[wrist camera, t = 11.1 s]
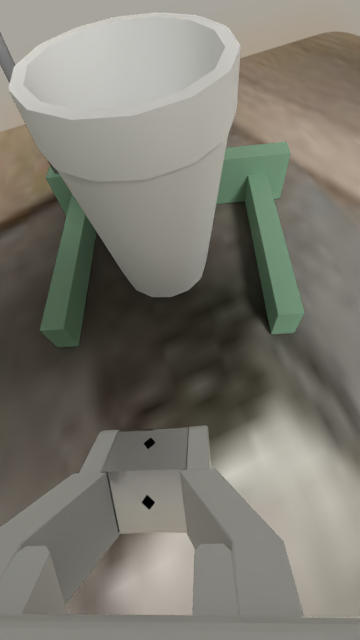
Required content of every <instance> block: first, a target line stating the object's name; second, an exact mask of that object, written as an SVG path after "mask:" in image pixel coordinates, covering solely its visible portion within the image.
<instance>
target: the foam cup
mask: <svg viewBox="0 0 360 640" xmlns="http://www.w3.org/2000/svg"><path fill="white" fill-rule="evenodd" d="M240 50H241V45H240V44H239V42H238V41H237V39H236V38H235V36H234V35H233V34H232V32H231V31H230V29H229V28H228V26H225V25H223V24H220V23H217V22H215V21H212V20H209V19H207V18H204V17H201V16H199V15H190V14H177V13H164V12H155V13H145V14H136V15H126V16H117V17H112V18H109V19H105V20H101V21H98V22H94V23H90V24H87V25H83V26H79V27H76V28H73V29H71V30H69V31H67V32H65V33H62V34H60V35H58V36H56V37H54V38H52V39H50V40H48V41H46V42H44V43H41V44H39V45H38V46H37V47H36V48H34V49H33V50H32V51H31V52H30V53H29V54H28V55H27V56H25V57H24V58H23V59H22V60H21V61H20V62H19V63H17V64H16V65H15V66H14V68H13V72H12V76H11V80H10V84H9V88H8V90H9V92H10V94H11V96H12V98H13V100H14V102H15V104H16V106H17V108H18V110H19V112H20V114H21V116H22V118H23V120H24V122H25V124H26V126H27V128H28V130H29V132H30V134H31V136H32V138H33V140H34V142H35V144H36V146H37V148H38V149H39V150H40V152H41V153H42V154H43V155H44V156H45V157H46V159H47V160H48V161H49V162H50V163H51V164H52V166H53V167H54V168H55V169H56V170H57V171H58V173H59V174H60V176H61V177H62V179H63V180H64V182H65V183H66V185H67V187H68V188H69V190H70V191H71V193H72V194H73V196H74V197H75V199H76V201H77V202H78V204H79V205H80V207H81V208H82V210H83V211H84V213H85V215H86V216H87V218H88V219H89V221H90V222H91V224H92V225H93V227H94V229H95V230H96V232H97V233H98V235H99V236H100V238H101V239H102V241H103V242H104V244H105V246H106V247H107V249H108V250H109V252H110V253H111V255H112V256H113V258H114V260H115V261H116V263H117V264H118V266H119V267H120V269H121V270H122V272H123V274H124V275H125V276H126V277H127V279H128V281H129V282H130V283H131V284H132V285H133V287H134V288H135V289H136V290H137V291H139V292H141V293H144V294H146V295H148V296H151V297H173V296H175V295H178V294H180V293H183V292H185V291H188V290H190V289H191V288H192V287H193V286H194V285H195V284H196V283H197V282H198V281H199V280H200V279H201V277H202V274H203V271H204V268H205V264H206V259H207V255H208V249H209V243H210V237H211V231H212V225H213V220H214V214H215V208H216V202H217V196H218V191H219V185H220V179H221V173H222V167H223V161H224V156H225V150H226V144H227V138H228V134H229V131H230V128H231V125H232V122H233V119H234V117H235V114H236V111H237V96H238V81H239V66H240Z"/></svg>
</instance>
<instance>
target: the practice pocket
mask: <svg viewBox="0 0 360 640" xmlns="http://www.w3.org/2000/svg"><path fill="white" fill-rule="evenodd" d="M0 65H1V67H2V69H3V71H4V73H5V75H6V77H7V79H8V81H9V83H10V80H11V76H12V72H13V68H14V66H15V63H14V61H13V59H12V57H11V55H10V52H9V50H8V48H7V46H6V44H5V42H4V40H3V37H2V35H1V33H0ZM289 157H290V151H289V148H288V145H287V142H280V143H270V144H260V145H251V146H241V147H231V148H226V150H225V156H224V161H223V167H222V173H221V179H220V185H219V191H218V196H217V202H216V204H222V203H233V202H244V201H245V205H246V210H247V215H248V220H249V225H250V230H251V235H252V240H253V245H254V250H255V255H256V260H257V266H258V271H259V276H260V281H261V286H262V291H263V296H264V301H265V306H266V311H267V316H268V321H269V327H270V332H271V334H282V333H294V332H295V330H296V329H297V327H298V325H299V323H300V321H301V319H302V317H303V315H304V309H303V306H302V302H301V298H300V294H299V291H298V287H297V283H296V280H295V276H294V272H293V268H292V265H291V261H290V257H289V254H288V250H287V246H286V242H285V239H284V235H283V231H282V228H281V224H280V220H279V216H278V213H277V209H276V205H275V202H274V199H277V198H280V195H281V191H282V187H283V183H284V178H285V174H286V170H287V166H288V161H289ZM48 162H49V161H48ZM49 164H50V167H49V170H48V173H47V176H46V179H47V181H48V183H49V185H50V187H51V188H52V190H53V192H54V194H55V196H56V198H57V200H58V202H59V204H60V205H61V207H62V209H63V211H64V213H65V215H66V220H65V224H64V229H63V233H62V237H61V242H60V246H59V250H58V254H57V259H56V263H55V267H54V272H53V276H52V280H51V284H50V289H49V293H48V297H47V301H46V306H45V310H44V314H43V319H42V323H41V327H40V332H41V333H43V334H44V335H45V336H46V337H47V338H48V339H49V340H50V341H51V342H52V343H53V344H54V345H55V346H57V347H73V346H79V341H80V335H81V329H82V322H83V316H84V309H85V303H86V297H87V290H88V284H89V277H90V271H91V265H92V258H93V252H94V246H95V239H96V233H97V232H96V230H95V229H94V227H93V225H92V224H91V222H90V221H89V219H88V218H87V216H86V215H85V213H84V211H83V210H82V208H81V207H80V205H79V204H78V202H77V201H76V199H75V197H74V196H73V194H72V193H71V191H70V190H69V188H68V187H67V185H66V183H65V182H64V180H63V179H62V177H61V176H60V174H59V173H58V171H57V170H56V169H55V168H54V167H53V166H52V164H51V163H50V162H49Z"/></svg>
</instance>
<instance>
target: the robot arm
mask: <svg viewBox="0 0 360 640" xmlns="http://www.w3.org/2000/svg"><path fill="white" fill-rule="evenodd" d="M144 532H179V533H187V535H188V537H189V539H190V540H191V542H192V544H193V546H194V548H195V553H194V586H193V615H88V614H67V611H66V607H65V605H66V603H67V602H68V601H69V600H70V598H71V597H72V596H73V594H74V593H75V592H76V591H77V589H78V588H79V587H80V585H81V584H82V583H83V582H84V580H85V579H86V578H87V576H88V575H89V574H90V573H91V571H92V570H93V569H94V567H95V566H96V565H97V564H98V562H99V561H100V560H101V558H102V557H103V556H104V555H105V553H106V552H107V551H108V549H109V548H110V547H111V546H112V544H113V543H114V542H115V540H116V539H117V538H118V537H119V534H124V533H144ZM0 640H360V616H304V615H303V611H302V607H301V604H300V600H299V596H298V593H297V589H296V585H295V582H294V578H293V574H292V571H291V567H290V563H289V560H288V556H287V552H286V549H285V545H284V542H283V540H282V539H281V538H280V537H279V536H278V535H277V534H276V533H275V532H274V531H273V530H272V529H271V528H270V526H269V525H268V524H267V523H266V522H265V521H264V520H263V519H262V518H261V517H260V516H259V515H258V514H257V513H256V512H255V510H254V509H253V508H252V507H251V506H250V505H249V504H248V503H247V502H246V501H245V500H244V499H243V498H242V497H241V495H240V494H239V493H238V492H237V491H236V490H235V489H234V488H233V487H232V486H231V485H230V484H229V483H228V482H227V481H226V479H225V478H224V477H223V476H222V475H221V474H220V473H219V472H218V471H217V470H216V469H211V459H210V447H209V435H208V427H207V425H205V426H193V427H185V428H168V429H129V430H103V431H101V432H100V433H99V434H98V436H97V438H96V440H95V442H94V444H93V446H92V448H91V450H90V452H89V454H88V456H87V458H86V460H85V462H84V464H83V466H82V468H81V470H80V472H79V473H75V474H72V475H71V476H69V477H68V478H67V479H65V480H64V481H62V482H61V483H60V484H58V485H57V486H56V487H54V488H53V489H52V490H50V491H49V492H47V493H46V494H45V495H43V496H42V497H41V498H39V499H38V500H37V501H35V502H34V503H32V504H31V505H30V506H28V507H27V508H26V509H24V510H23V511H22V512H20V513H19V514H17V515H16V516H15V517H13V518H12V519H11V520H9V521H8V522H7V523H5V524H4V525H2V526H1V527H0Z"/></svg>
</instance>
